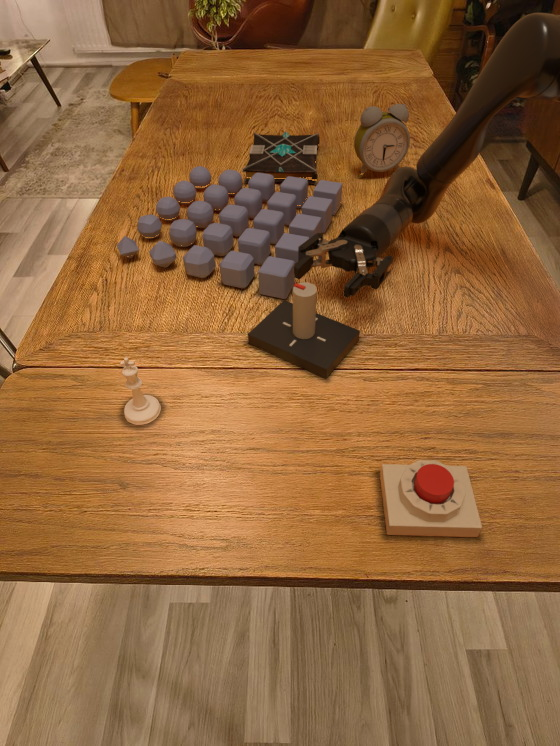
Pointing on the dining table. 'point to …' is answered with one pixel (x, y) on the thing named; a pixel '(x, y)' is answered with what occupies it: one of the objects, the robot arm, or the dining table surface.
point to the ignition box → (428, 504)
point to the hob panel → (304, 340)
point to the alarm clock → (382, 138)
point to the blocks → (241, 227)
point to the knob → (304, 310)
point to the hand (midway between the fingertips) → (320, 283)
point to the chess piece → (138, 398)
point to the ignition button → (433, 483)
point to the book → (283, 156)
